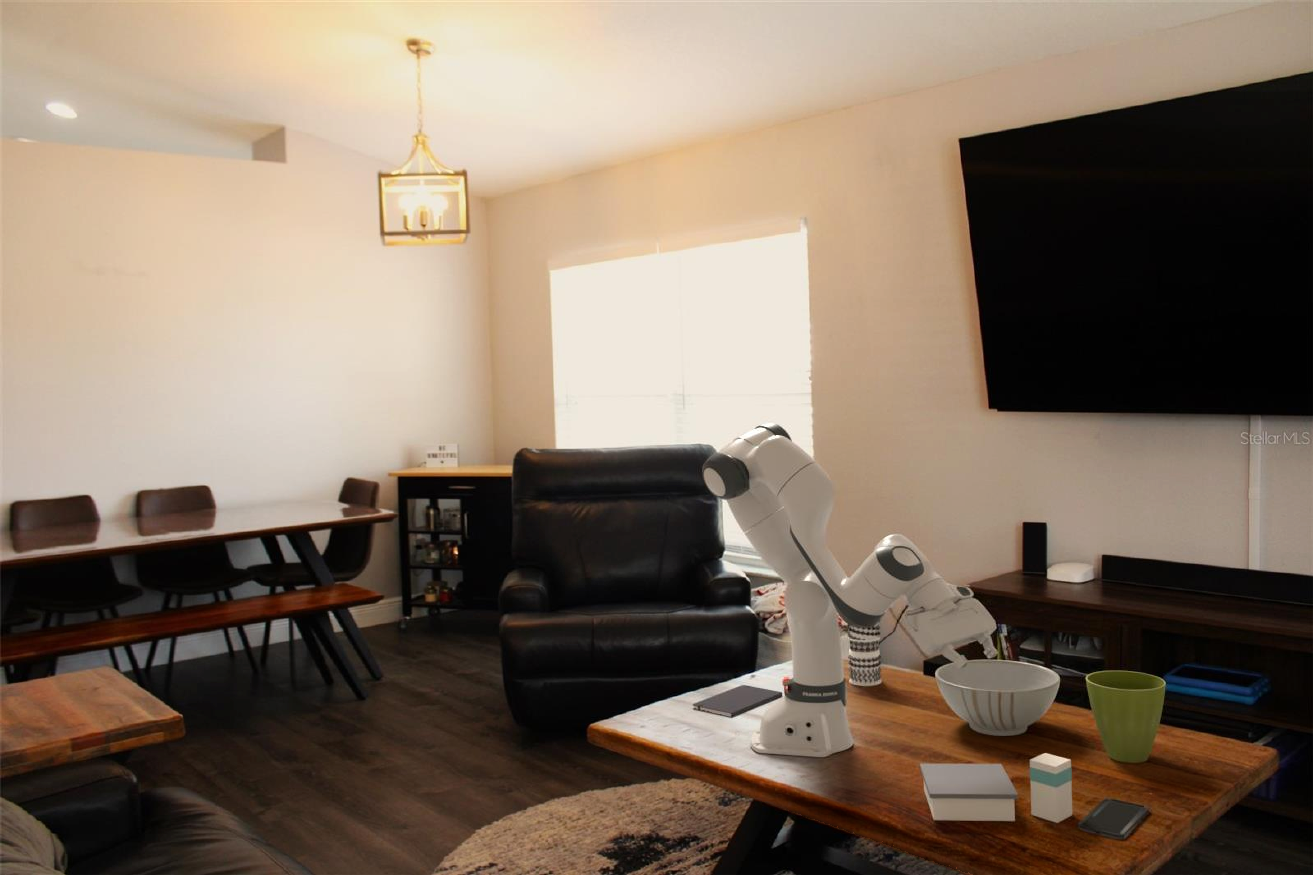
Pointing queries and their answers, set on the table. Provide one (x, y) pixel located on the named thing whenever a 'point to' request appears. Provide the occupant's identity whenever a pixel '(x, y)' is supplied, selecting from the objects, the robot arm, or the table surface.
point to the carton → (1051, 787)
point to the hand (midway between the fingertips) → (979, 661)
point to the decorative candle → (864, 655)
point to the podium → (969, 792)
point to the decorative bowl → (998, 694)
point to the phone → (1113, 818)
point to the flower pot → (1126, 712)
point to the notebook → (737, 700)
